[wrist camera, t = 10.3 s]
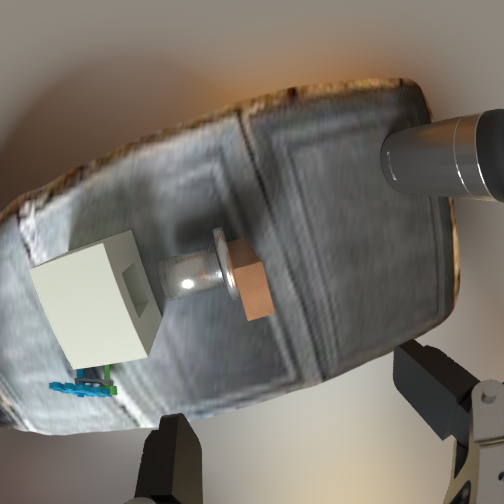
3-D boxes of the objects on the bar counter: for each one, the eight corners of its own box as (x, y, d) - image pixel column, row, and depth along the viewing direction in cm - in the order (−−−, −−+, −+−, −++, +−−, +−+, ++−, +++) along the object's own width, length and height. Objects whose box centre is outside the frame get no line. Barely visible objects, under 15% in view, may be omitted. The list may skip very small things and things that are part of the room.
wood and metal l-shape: (238, 218, 32) (255, 236, 19) (254, 280, 34) (279, 333, 21) (161, 240, 32) (125, 272, 18) (180, 300, 33) (163, 363, 20)
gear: (64, 397, 34) (38, 389, 26) (64, 364, 37) (39, 348, 29) (125, 401, 37) (109, 396, 29) (123, 367, 40) (107, 352, 32)
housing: (131, 229, 32) (102, 242, 23) (162, 318, 35) (148, 357, 25) (67, 251, 31) (28, 270, 22) (99, 333, 34) (73, 369, 25)
